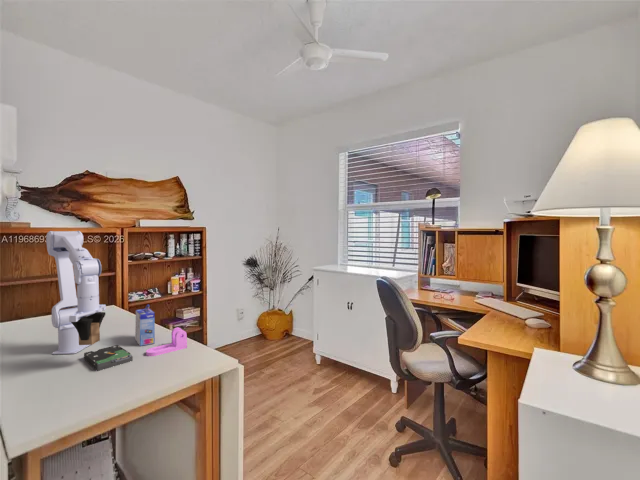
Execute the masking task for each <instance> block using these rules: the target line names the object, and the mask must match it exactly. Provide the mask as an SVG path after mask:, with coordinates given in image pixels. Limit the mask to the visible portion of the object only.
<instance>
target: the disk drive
mask: <svg viewBox="0 0 640 480" xmlns="http://www.w3.org/2000/svg"><path fill="white" fill-rule="evenodd" d="M83 356H84V357H83V359H84V361H85V362H87V363H88V364H89V365H90V366H91V367H92V368H93V369H94V370H95V371H96V370H97V372H99V371H103V369H104V370H106V369H109V368H113V366H114V367H116V366H120V364H121V365H124V364H128V363H130V361H131V362H133V354H131V353H130V352H129V351H128V350H127V349H125V348H123V347H121V346H120V345H118V344H115V345H111V346H107V347H101V348H99V349H97V350H95V351H92V350H91V351H86V352H84V353H83Z"/></svg>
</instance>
